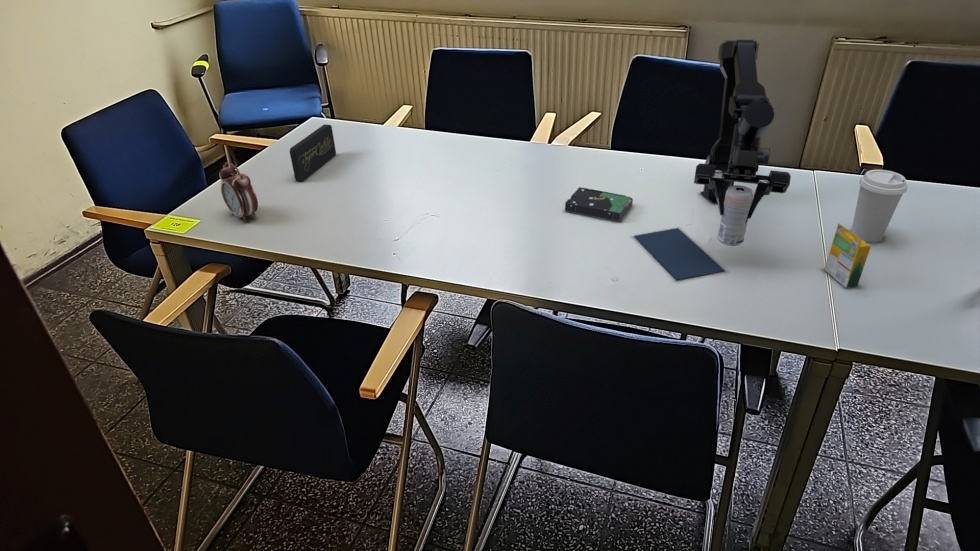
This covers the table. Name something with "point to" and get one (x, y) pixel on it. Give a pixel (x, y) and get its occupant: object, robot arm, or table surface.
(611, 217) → the disk drive
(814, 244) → the table surface
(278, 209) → the table surface
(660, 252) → the mat
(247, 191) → the alarm clock
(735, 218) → the energy drink
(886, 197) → the coffee cup
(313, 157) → the nameplate
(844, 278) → the crayon box
